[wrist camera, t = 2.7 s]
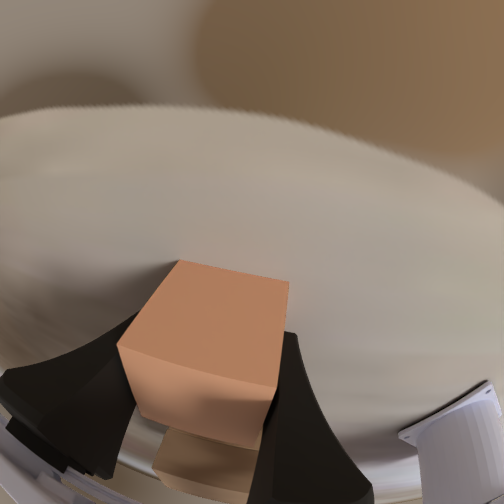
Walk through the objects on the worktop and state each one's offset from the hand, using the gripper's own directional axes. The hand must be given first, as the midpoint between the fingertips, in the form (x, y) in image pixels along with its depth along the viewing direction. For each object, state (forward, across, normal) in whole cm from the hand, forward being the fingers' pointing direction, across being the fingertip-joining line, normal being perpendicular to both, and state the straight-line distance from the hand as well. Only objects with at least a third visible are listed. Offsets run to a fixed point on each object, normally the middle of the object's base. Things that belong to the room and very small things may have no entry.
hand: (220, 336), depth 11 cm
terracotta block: (+2, 0, 0) cm, 2 cm away
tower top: (-1, 0, +11) cm, 11 cm away
